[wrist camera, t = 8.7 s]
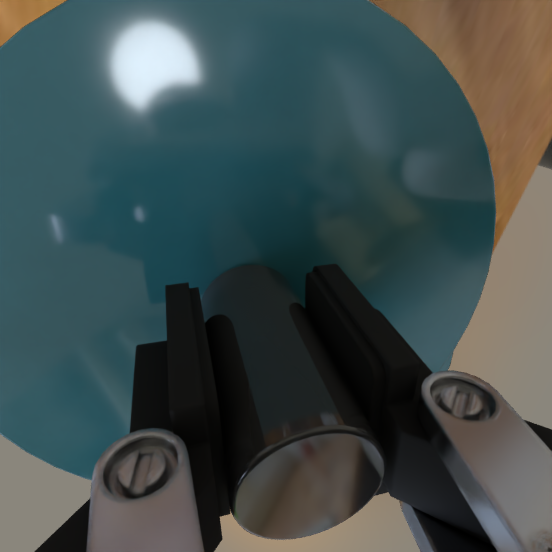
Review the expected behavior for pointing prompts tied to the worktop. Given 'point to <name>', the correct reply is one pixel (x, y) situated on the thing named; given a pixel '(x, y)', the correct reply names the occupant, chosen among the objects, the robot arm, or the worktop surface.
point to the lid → (230, 226)
